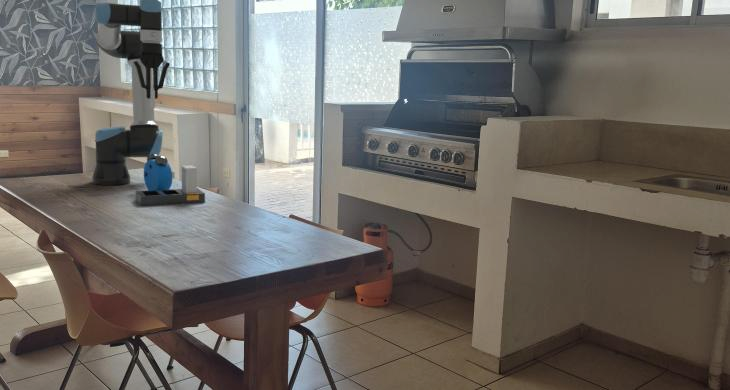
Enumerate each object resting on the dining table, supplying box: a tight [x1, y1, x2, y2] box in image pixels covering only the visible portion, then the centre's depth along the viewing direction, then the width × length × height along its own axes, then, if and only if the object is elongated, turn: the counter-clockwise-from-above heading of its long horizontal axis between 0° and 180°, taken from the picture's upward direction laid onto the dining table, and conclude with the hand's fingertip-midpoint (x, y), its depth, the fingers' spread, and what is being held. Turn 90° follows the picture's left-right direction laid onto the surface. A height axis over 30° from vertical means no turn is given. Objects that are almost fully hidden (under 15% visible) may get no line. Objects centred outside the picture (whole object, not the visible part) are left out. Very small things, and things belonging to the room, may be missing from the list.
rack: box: [135, 187, 206, 207], centre depth 247 cm, size 11×23×4 cm, turn 118°
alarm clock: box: [143, 154, 173, 191], centre depth 263 cm, size 13×6×15 cm, turn 44°
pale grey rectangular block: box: [181, 164, 198, 194], centre depth 250 cm, size 7×4×12 cm, turn 28°
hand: (152, 107), depth 246 cm, fingers closed
